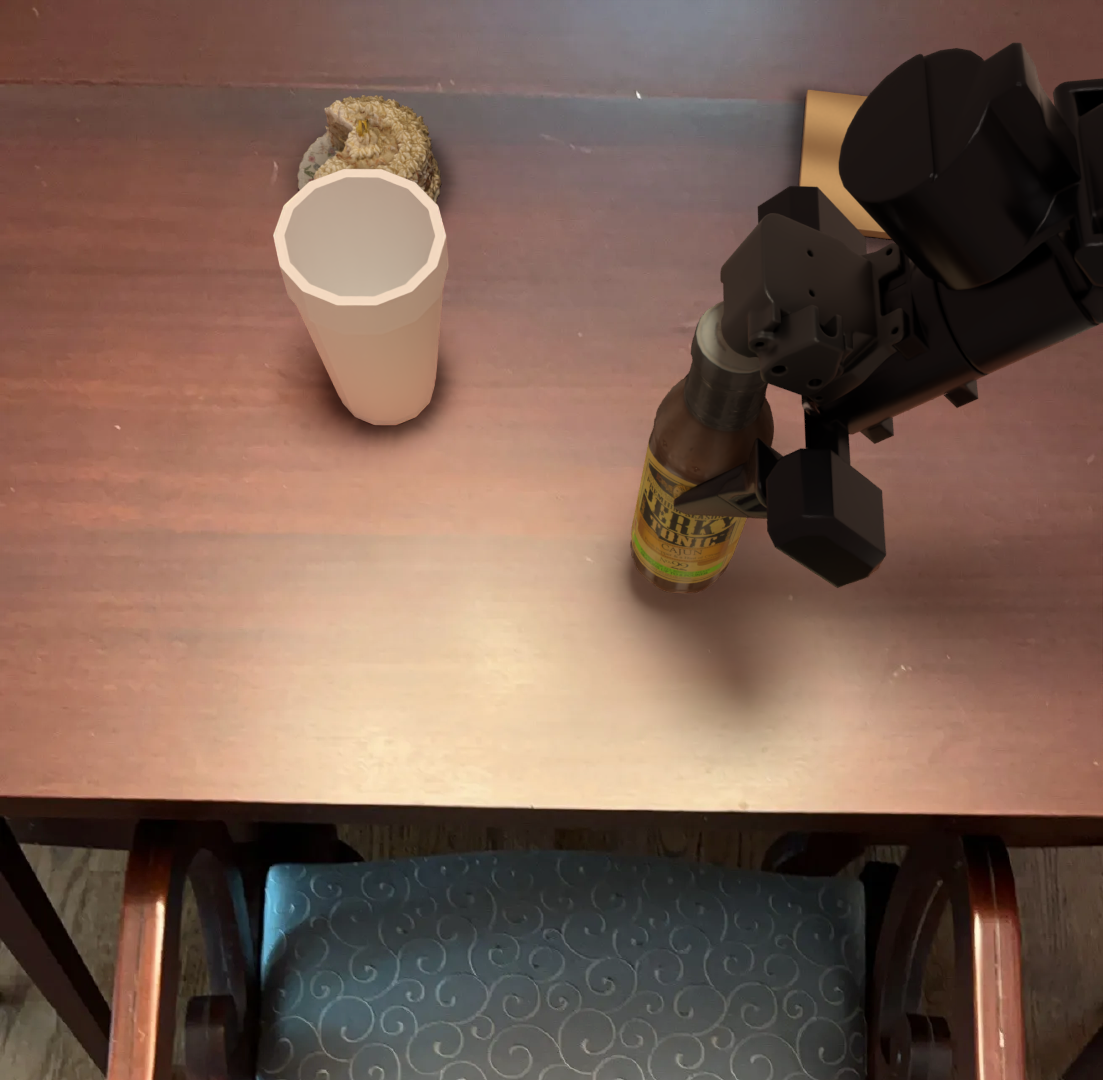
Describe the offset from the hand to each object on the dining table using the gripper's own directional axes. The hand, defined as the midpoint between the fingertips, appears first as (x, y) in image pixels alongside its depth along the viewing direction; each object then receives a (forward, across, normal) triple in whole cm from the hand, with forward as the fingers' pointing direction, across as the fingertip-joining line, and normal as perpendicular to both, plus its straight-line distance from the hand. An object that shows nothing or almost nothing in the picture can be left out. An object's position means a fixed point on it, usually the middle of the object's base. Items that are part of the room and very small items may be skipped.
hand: (678, 451), depth 60 cm
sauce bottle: (+7, 0, +9) cm, 11 cm away
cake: (+24, -30, -5) cm, 38 cm away
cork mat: (-2, -33, +21) cm, 39 cm away
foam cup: (+22, -13, -3) cm, 26 cm away
